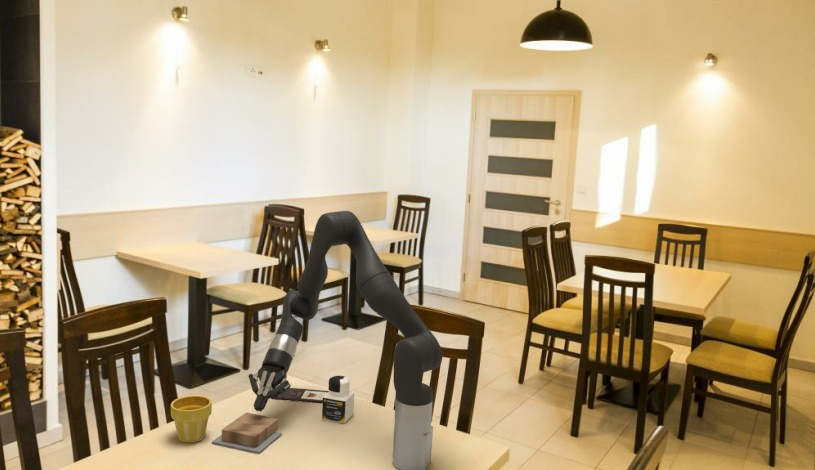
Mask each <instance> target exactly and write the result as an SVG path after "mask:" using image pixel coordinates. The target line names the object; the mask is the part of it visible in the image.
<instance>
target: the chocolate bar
mask: <svg viewBox="0 0 815 470" xmlns="http://www.w3.org/2000/svg"><path fill="white" fill-rule="evenodd" d="M328 392H329V391H328V390H322V389H321V390H319V389H309V388H308V389H307V388H297V387H290V388H288V389H287V390H286V391H284V392H283V393H282V394H280V395H279V396H278V397H276V398H275V399H273V398H270V399H271V400H276V401H278V400H279V401H287V400H291V402H299V401H302V403H311V402H312V404H323V396H324V395H325V394H327V393H328Z"/></svg>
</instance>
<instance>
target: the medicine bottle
mask: <svg viewBox="0 0 815 470" xmlns="http://www.w3.org/2000/svg"><path fill="white" fill-rule="evenodd" d="M350 383H351V380H350V379H349V377H346V376H344V375H334V376H331V377H330V378H329V379H328V390H327V391H329V392H328V393H327V394H325V395H324V396H323V403H322V405H321V406H322V412H321V419H322V420H324V421H327V422H335V423H338V424H339V423H340V424H346V422H347V421H348V420H349V419H351V418H352V417H353V416H354V412H355V410H354V409H355V392H354V391H350V388H351V385H350Z"/></svg>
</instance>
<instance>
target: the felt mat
mask: <svg viewBox="0 0 815 470" xmlns="http://www.w3.org/2000/svg"><path fill="white" fill-rule="evenodd" d="M281 436H283V432H278V431H275V432H274V433H273V434H271V435H270V436H269V437H268V438H267V439H265V440H264V441H263V442H262V443H261V444H259V445H258V446H257V447H256V448H255V447H250V446H245V445H241V444H236V443H231V442H227V441H222V434H220V435H219V436H218V437H216V438H215V439H214V440H212V441H211V444H212V445H214V446H215V445H216V446H221V447H225V448H229V449H234V450H239V451H243V452H248V453H252V454H257V455H260V454H261V453H262V452H264V451H265V450H267V448H269V447H270V446H271V445H272V444H273V443H275V442H276V441H277V440H278V439H279V438H280V437H281Z"/></svg>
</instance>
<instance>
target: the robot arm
mask: <svg viewBox="0 0 815 470" xmlns="http://www.w3.org/2000/svg"><path fill="white" fill-rule="evenodd" d="M313 230H314V231H313V235H312V240H311V243H310V248H309V252H308V257H307V259H306V260H307V261H306V264H305V267H304V268H303V271H302V274H301V275H300V277H299V279H298V282H297V287H296V289H297V290H295V289H292V290H289V291H288V292H286V294H285V295H284V297H283V302H282V312H281V319H280V323H279V324H278V325H279V326H278V327H277V329H276V332H275V335H274V337H273V338H272V340H271V342H270V344H269V346H268V349H267V351H266V353H265V356H264V359H263V361H262V363H261V364H262V365H261V367H260V368H259V369H258V370H257V372H255V373H253V374H252V373H249V374H248V379H249V383H250V387H251V389H252V392H253V393H254V394H255V396H256V398H255V400H254V403H253V409H254V410H255V411H256V412H260V413H261V412H262V411H264V409H265V408H266V407H267V403H268V401H269V400H270V399H271V398H273V399H272V400H275V398H276V397H278V396H279V395H280V394H282V393H283V392H284V391H286V390H287V389H288V388H292V385H291V383H290V382H289V380H288V379H287V377H288V376H287V373H288V372H289V370H290V367H291V366H292V365H291V364H292V363H293V362H292V361H293V360H294V357H295V356H296V352H297V347H298V344H299V343H300V341H301V340H300V339H301V336H302V334H303V332H304V326H303V324H302V323H301V322H300V321H298V320H297V319H296V318H294V316H295V317H297V318H300V319H302V320H305V321H310V320H313V319H314V318H315V317H316V315H317V313H318V309H319V301H320V299H319V298H320V294H321V291H322V289H323V287H324V284H325V283H326V281H327V279H328V273H329V270H328V268H329V267H328V264H327V260H326V255H327V254H328V252H329V250H330V249H331V248H332V247H336V246H343V245H347V247H348V248H349V249H350V251H351V252H352V254H353V256H354V258H355V261H356V269H355V282H356V286H357V289H358V291H359V293H360V294H361V296H362V298H363V299H364V301H365V302H366V304H367V305H368V307H369V308H370V309H371V310H372V311H373V312H374V313H376V314H377V315H378V316H380V317H381V318H383V319H384V320H385V321H387V322H389V323H390V324H391V325H393V326H394V327H396V328H397V330H398V331H399V332H400V333H401V335H402V336H403V337H404V338H403V339H400V340H399V341H398V342H397V343H396V345H395V347H394V352H393V365H392V366H393V388H394V390H395V406H394V407H395V408H394V426H393V427H394V428H393V441H392V442H393V443H392V444H393V446H392V465H393V466H394V467H395V468H396V469H397V470H428V469H427V468H428V467H429V466H430V464H431V462H432V453H433V452H432V451H433V449H432V448H433V438H434V437H433V435H434V426H432V415H433V414H432V412H433V399H434V398H433V397H434V390H433V388H432V387H431V386H430V385H428V384H427V383H426V384H425V383H424V382H423V373H424V374H425V373H427V372H430V371H433V370H435V369H437V368H438V367H439V366H441V364H442V362H443V350H442V346H441V345H440V343H439V341H438V339H437V338H436V335H435V336H434V334H433V333H432V331H431V330H430V329H429V327H427V325H426V324H425V323H424V321H423V320H422V319H421V318H420V316H419V315H418V314H417V313H416V312H415V310H414V308H413V307H412V306H411V304H410V303H409V301H408V300H407V298H406V297H405V295H404V294H403V292H402V291H401V289H400V287H399V286H398V284H397V282H396V281H395V280H394V277H393V276H392V275H391V273H390V271H389V270H388V269H387V268H386V266H385V264H384V262H383V261H382V259H381V258H380V256H379V255H378V253H377V252H376V250H375V248H374V246H373V245H372V243H371V241H370V239H369V237H368V235H367V233H366V231H365V229H364V227H363V225H362V223H361V221H360V220H359V218H358V217H357V215H355V214H354V213H353V212H352V211H349V210H340V211H330V212H325V213H323V214H322V215H320V216H319V218H318V219H317V222H316V224H315V226H314V229H313ZM258 381H259V383H258Z"/></svg>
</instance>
